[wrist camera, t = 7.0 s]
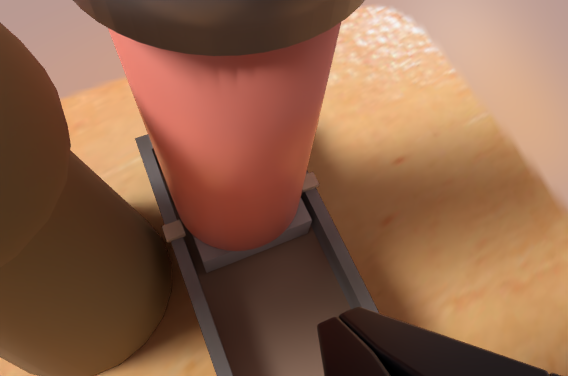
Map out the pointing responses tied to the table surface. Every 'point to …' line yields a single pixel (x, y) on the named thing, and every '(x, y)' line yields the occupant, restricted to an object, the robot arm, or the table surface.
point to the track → (265, 289)
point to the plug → (229, 108)
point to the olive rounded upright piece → (66, 241)
